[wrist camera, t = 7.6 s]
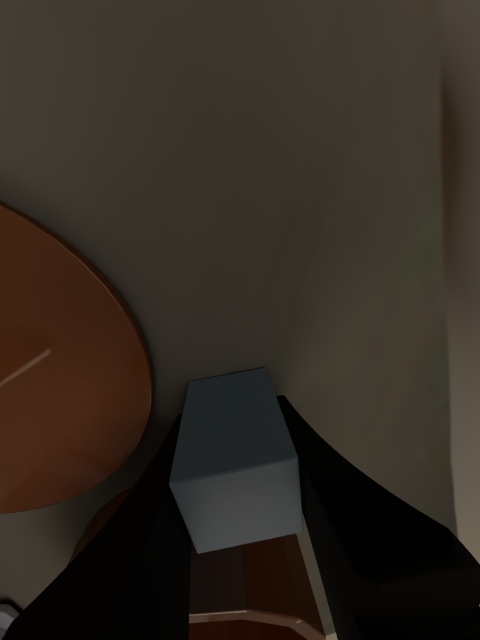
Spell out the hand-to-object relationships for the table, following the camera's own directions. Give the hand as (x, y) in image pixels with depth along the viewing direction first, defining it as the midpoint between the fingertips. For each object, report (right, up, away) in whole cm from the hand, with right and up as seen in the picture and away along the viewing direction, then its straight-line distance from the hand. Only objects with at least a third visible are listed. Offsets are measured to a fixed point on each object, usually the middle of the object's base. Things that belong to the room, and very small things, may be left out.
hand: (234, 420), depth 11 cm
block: (0, 0, +1) cm, 1 cm away
